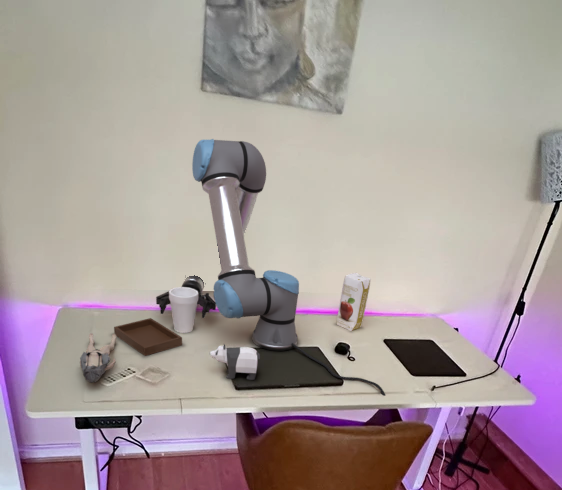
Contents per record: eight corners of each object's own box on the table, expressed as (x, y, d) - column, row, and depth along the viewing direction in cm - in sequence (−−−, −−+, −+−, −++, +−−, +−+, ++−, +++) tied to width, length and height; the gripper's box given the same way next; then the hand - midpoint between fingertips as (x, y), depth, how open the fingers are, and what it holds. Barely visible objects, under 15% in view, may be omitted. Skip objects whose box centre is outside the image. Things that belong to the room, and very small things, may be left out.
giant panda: (258, 371, 156) (261, 343, 151) (258, 381, 152) (261, 351, 146) (209, 368, 155) (210, 339, 149) (208, 377, 150) (209, 348, 145)
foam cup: (191, 336, 171) (192, 299, 164) (165, 331, 172) (164, 294, 165) (201, 325, 179) (202, 289, 172) (175, 321, 180) (175, 285, 173)
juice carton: (345, 319, 198) (354, 271, 188) (363, 328, 193) (374, 278, 183) (333, 324, 193) (342, 274, 183) (351, 332, 188) (361, 282, 178)
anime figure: (118, 328, 160) (109, 363, 134) (119, 350, 163) (111, 389, 137) (85, 327, 158) (70, 362, 132) (87, 350, 161) (72, 389, 135)
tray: (182, 345, 165) (182, 337, 164) (145, 356, 157) (144, 347, 155) (150, 325, 175) (150, 317, 174) (114, 334, 166) (113, 326, 165)
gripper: (225, 302, 191) (219, 326, 173) (157, 295, 189) (144, 319, 172) (226, 283, 187) (220, 305, 169) (157, 276, 185) (143, 297, 168)
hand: (182, 312), depth 170 cm, fingers open, 13 cm apart
